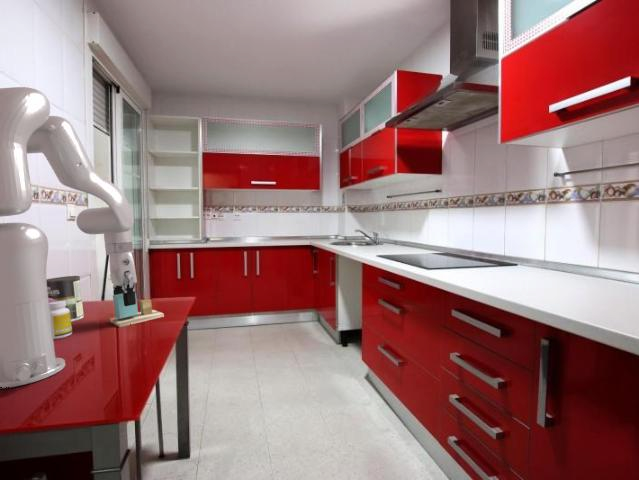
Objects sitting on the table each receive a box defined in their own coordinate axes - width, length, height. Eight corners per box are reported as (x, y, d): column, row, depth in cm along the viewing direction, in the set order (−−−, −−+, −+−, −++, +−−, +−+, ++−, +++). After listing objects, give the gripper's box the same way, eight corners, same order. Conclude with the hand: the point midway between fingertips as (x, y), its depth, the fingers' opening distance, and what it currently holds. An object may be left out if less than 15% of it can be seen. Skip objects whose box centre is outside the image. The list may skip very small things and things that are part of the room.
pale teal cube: (138, 314, 112) (136, 293, 112) (119, 318, 109) (117, 297, 108) (132, 312, 116) (130, 292, 116) (114, 316, 113) (112, 295, 112)
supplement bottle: (77, 332, 104) (73, 299, 103) (61, 339, 98) (57, 304, 98) (59, 333, 104) (56, 300, 104) (43, 339, 99) (39, 305, 98)
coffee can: (62, 324, 114) (57, 281, 113) (39, 324, 117) (34, 281, 116) (91, 315, 124) (87, 275, 123) (69, 315, 127) (64, 275, 126)
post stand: (163, 316, 116) (161, 292, 115) (119, 327, 107) (116, 300, 106) (152, 312, 123) (150, 289, 122) (110, 321, 114) (107, 296, 113)
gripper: (142, 248, 108) (147, 304, 109) (123, 247, 120) (128, 297, 121) (114, 250, 102) (120, 309, 103) (98, 249, 115) (103, 302, 116)
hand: (125, 303), depth 112 cm, fingers open, 9 cm apart
